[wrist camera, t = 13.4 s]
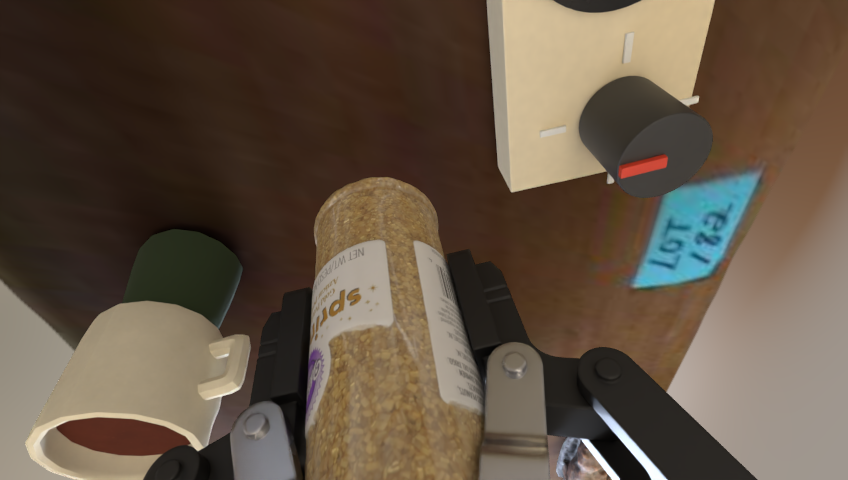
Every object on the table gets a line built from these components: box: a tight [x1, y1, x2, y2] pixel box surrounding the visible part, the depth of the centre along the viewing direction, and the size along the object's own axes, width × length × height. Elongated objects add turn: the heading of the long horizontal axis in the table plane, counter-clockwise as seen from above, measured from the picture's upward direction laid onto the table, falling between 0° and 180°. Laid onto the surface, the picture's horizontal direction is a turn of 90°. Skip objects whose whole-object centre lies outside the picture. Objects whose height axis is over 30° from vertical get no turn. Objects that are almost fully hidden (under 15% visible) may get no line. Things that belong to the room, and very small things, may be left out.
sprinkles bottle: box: [305, 177, 486, 480], centre depth 11 cm, size 5×5×14 cm
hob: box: [487, 0, 715, 192], centre depth 21 cm, size 19×10×3 cm, turn 10°
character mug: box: [25, 229, 251, 480], centre depth 25 cm, size 11×7×13 cm, turn 104°
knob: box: [579, 76, 713, 198], centre depth 22 cm, size 4×4×5 cm
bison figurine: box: [556, 437, 611, 480], centre depth 52 cm, size 12×7×10 cm, turn 178°
